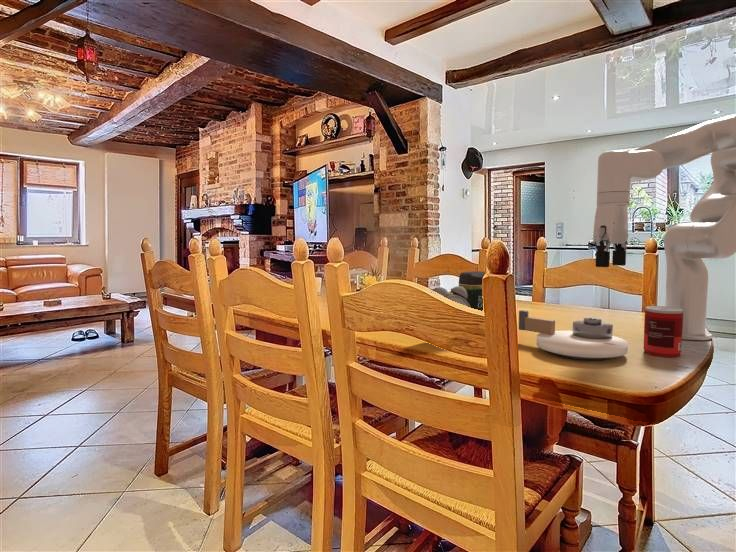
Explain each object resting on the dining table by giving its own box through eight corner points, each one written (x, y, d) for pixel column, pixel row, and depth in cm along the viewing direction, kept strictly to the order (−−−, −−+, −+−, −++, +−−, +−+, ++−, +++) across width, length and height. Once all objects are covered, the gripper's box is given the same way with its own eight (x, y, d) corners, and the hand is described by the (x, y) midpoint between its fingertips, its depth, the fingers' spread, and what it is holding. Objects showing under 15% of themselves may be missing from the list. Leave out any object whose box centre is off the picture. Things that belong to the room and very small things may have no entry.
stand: (566, 343, 120) (566, 339, 119) (622, 353, 109) (623, 349, 109) (538, 351, 111) (538, 348, 111) (596, 363, 100) (596, 359, 100)
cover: (582, 330, 119) (583, 314, 119) (618, 335, 112) (619, 318, 112) (565, 335, 114) (566, 318, 114) (602, 341, 107) (602, 323, 107)
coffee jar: (471, 338, 126) (471, 272, 125) (453, 333, 133) (453, 271, 132) (497, 335, 131) (498, 271, 129) (478, 330, 138) (479, 269, 136)
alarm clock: (434, 345, 119) (434, 288, 118) (423, 339, 126) (423, 286, 124) (472, 341, 123) (473, 286, 122) (459, 336, 129) (459, 284, 128)
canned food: (669, 349, 112) (671, 305, 111) (688, 358, 104) (691, 311, 103) (636, 349, 113) (638, 305, 112) (653, 357, 105) (655, 310, 104)
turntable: (539, 331, 129) (539, 306, 128) (641, 348, 108) (642, 319, 108) (497, 341, 116) (497, 314, 116) (604, 362, 96) (605, 330, 95)
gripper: (612, 202, 125) (610, 264, 126) (582, 199, 114) (580, 267, 116) (642, 200, 119) (639, 265, 121) (613, 197, 108) (610, 268, 110)
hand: (610, 266), depth 118 cm, fingers open, 9 cm apart
